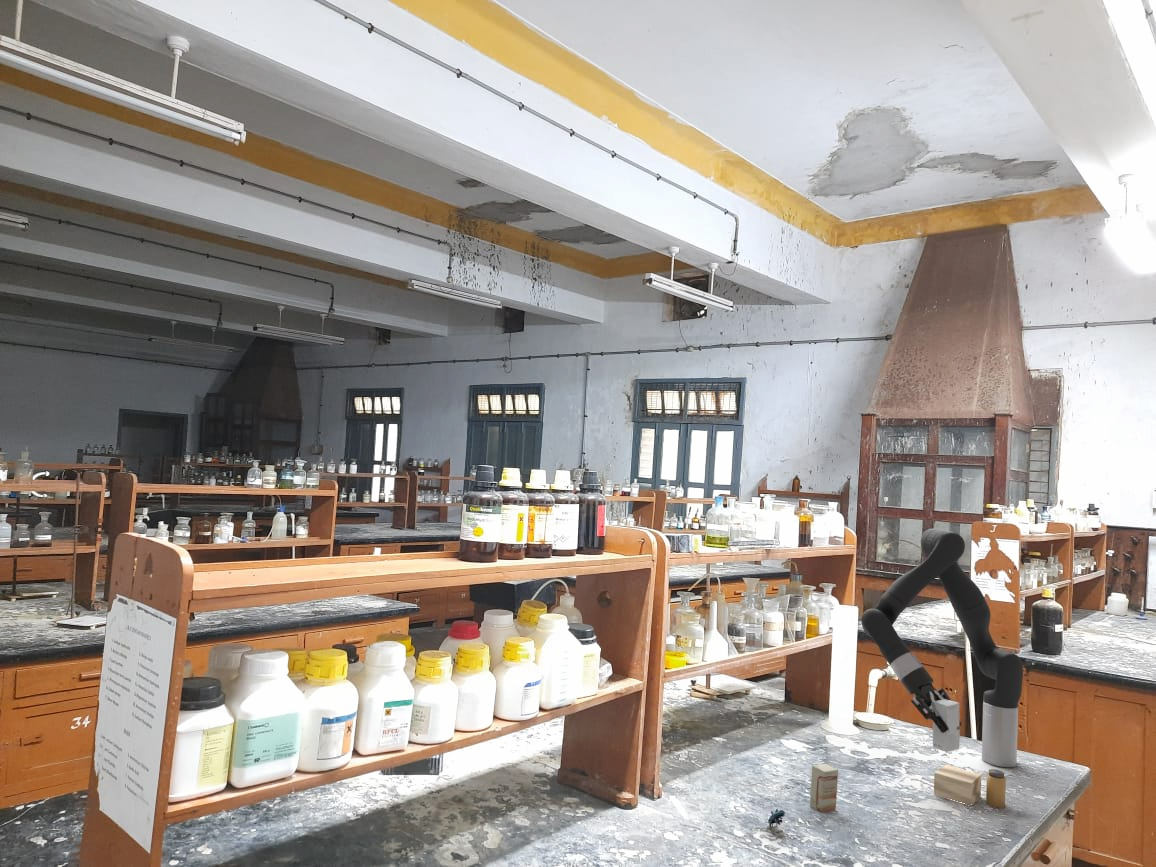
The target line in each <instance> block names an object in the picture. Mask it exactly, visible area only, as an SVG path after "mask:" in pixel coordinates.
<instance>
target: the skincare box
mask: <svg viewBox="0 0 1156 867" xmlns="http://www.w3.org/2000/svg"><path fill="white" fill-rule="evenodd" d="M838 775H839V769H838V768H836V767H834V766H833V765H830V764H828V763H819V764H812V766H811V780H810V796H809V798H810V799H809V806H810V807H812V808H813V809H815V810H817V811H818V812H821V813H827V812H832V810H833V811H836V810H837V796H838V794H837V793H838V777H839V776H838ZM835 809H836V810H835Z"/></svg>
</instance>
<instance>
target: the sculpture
mask: <svg viewBox="0 0 1156 867" xmlns="http://www.w3.org/2000/svg"><path fill="white" fill-rule="evenodd" d="M770 813H771V815H770V816H769V817H768V820H767V823H768V825H766V828H765V829H766V830H767V832H768V833H771V834H774V835H775V836H777V837H780V838H782V837H784V836H785V832H784V829H783V828H782V827H779V826H778V825H781V823H783V819H784V817H785V813H786V811H784V809H783V808H781V809H778V808H776V809H775V811H774V812H773V810H770ZM774 824H775V825H774Z"/></svg>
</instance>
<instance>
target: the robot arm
mask: <svg viewBox="0 0 1156 867" xmlns="http://www.w3.org/2000/svg"><path fill="white" fill-rule="evenodd" d="M920 538H921V539H920V548H921V550H922V552H923V554H924V557H925V558H926V559H924V560H923V561H922V562H921V563H920V564H919V565H916V566H915V567H914V568H912V569H910V570H909V571H907V572H905V573H904V574H902V575H901V576H899V577H898V578H897V579H896V580H894V581H893V582H892V583H891V585H890V586H889V587H888V588H887V589H886V590H885V592H883V594H882V596H881V597H880V598H879V602H878V603H877V605H876V606H875V607H874V608H869V609H866V610H864V611H863V613H862V615H861V620H860V622H861V627H862V630H863V632H864V634H866V635H867V636H868V637H869V638H872V640H873V641H874V642H875V644H876V645H877V646H878V649H879V651H880V653H881V654H882V656H883V658H884V659H885V660H886V662H887V663H888V665H889V666H890V668H891V670H892V671H893V673H894V674H895V675H896V677H897V678H898V680H899V681H900V683H901V684H902V686H903V687H904V688H905V689H906V691H907V692H908V693H909V695H911V696H913V698H912V699H911V700H910V701H911V703H912V704H913V706H914V707H915V708H916V710H917V711H918V712H919V713H920V714H921V715H922V717H923V718H924V719H925V720H930V721H932V722H933V721H934V723H935V724H936V726H937V727H938V728H939V730H940V731H941V732H942V733H944V732H946V731H947V730H949V727H948V726H947V725H946V723H945V722H944V721H943V719H942V718H941V716H939V714H938V711H937V710H936V705H935V704H934V703H933V702H934V701H938V700H944V699H947V700H951V701H952V699H951V698H950V697H949V695H948V693H947V692H946V690H945V689H944V688H943V687H941V688H940V689H937V688H935V687H934V686H933V683H934V679H933V677H932V676H931V674H929V672H928V671H927V670H926V668H925V666H924V665H923V664H922V663H921V661H920V660H919V659H918V658H917V657H916V655H914V654H913V653H912V651H911V650H910V648H909V647H908V646H907V644H906V643H905V642H904V640H902V638H901V637H900V636H899V635H898V633H897V631H896V629H895V628H894V626H893V625H894V624H895V623H896V621H897V619H898V618H899V617H900V615H901V613H903V612H904V610H906V609H907V607H908V606H909V605H910V604H911V602H913V601H914V599H915V598H916V597H917V596H918V595H919V594H920V593H921V592H922V591H923V589H925V588H926V587H928V585H929V584H931V583H932V582H933V581H934V580H935V579H937V578H939V581H940V583H941V585H942V587H943V589H944V591H945V594H946V596H947V597H948V599H949V601H950V604H951V606H952V608H953V610H954V613H955V614H956V616H957V618H958V620H959V622H960V624H961V627H962V628H963V630H964V633H965V635H966V637H967V639H968V641H969V644H970V647H971V650H972V652H973V655H974V658H975V662H976V663H977V666H978V668H979V670H980V672H982V674H983V675H984V676H985V677H988V678H990V679H993V680H995V685H994V686H995V688H994V689H989V690H985V691H984V692H983V698H982V699H983V700H982V701H983V702H982V730H981V731H982V734H981V735H982V736H981V737H982V738H981V759H982V760H983V762H986V763H988V764H990V765H993V766H996V767H997V766H998V767H1002V768H1015V767H1017V762H1018V761H1017V757H1018V727H1019V725H1018V724H1019V723H1018V722H1019V718H1018V717H1019V715H1018V714H1019V701H1020V699H1021V698H1022V697H1021V696H1022V690H1023V678H1024V665H1023V661H1022V659H1021V657H1020V656H1019V655H1017V654H1016V653H1013V652H1010V651H1006V650H1005V649H1001V648H999V647H998V646H997V645H996V643H995V641H994V640H993V638H992V635H991V633H990V630H989V629H990V624H991V623H990V622H991V616H992V615H991V610H990V607H989V604H988V603H987V600H986V598H985V596H984V595H983V592H982V591H981V589H980V588H979V587H978V585H977V584H976V583H975V582H974V581H973V580H972V579H971V577H970V576H968V575H967V573H965V571H964V570H963V569H962V568H961V566H960V564H958V562H957V561H958V560H960V558H961V557H962V556H963V555H964V552H965V549H966V543H965V540H964V538H963V537H962V536H961V535H960V534H959V533H957V532H954V531H951V530H946V529H941V528H929V529H926V530H925V531H923V533H922V536H921V537H920ZM938 716H939V717H938ZM962 725H963V723H962V722H961V720H960V719H959V728H960V727H961V726H962Z"/></svg>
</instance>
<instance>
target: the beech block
mask: <svg viewBox="0 0 1156 867" xmlns="http://www.w3.org/2000/svg"><path fill="white" fill-rule="evenodd" d="M933 775H934V776H933V795H934V794H935V795H934V796H936V795H937V796H936V797H939V796H941V797H940V798H942V797H945V798H949V799H952V800H955V801H958V802H962V803H965V804H967V805H966V806H968V805H970V806H969V807H971V806H972V805H974V804H975V803H976V802H977V801H978V800H979V799H980V798H981V797H982V795H981V794H982V774H981V773H977V772H974V771H971V770H967V769H963V768H960V767H956V766H953V765H949V764H947V763H946V764H944V765H942V766H941V767H940V768H939V769H937V770H936V771H935V772H934V774H933ZM980 796H981V797H980ZM979 797H980V798H979ZM945 798H944V799H945ZM978 798H979V799H978ZM949 799H948V800H949ZM977 799H978V800H977ZM952 800H951V801H952ZM976 800H977V801H976ZM955 801H954V802H955ZM975 801H976V802H975ZM958 802H957V803H958ZM974 802H975V803H974ZM973 803H974V804H973ZM971 804H972V805H971Z"/></svg>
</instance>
